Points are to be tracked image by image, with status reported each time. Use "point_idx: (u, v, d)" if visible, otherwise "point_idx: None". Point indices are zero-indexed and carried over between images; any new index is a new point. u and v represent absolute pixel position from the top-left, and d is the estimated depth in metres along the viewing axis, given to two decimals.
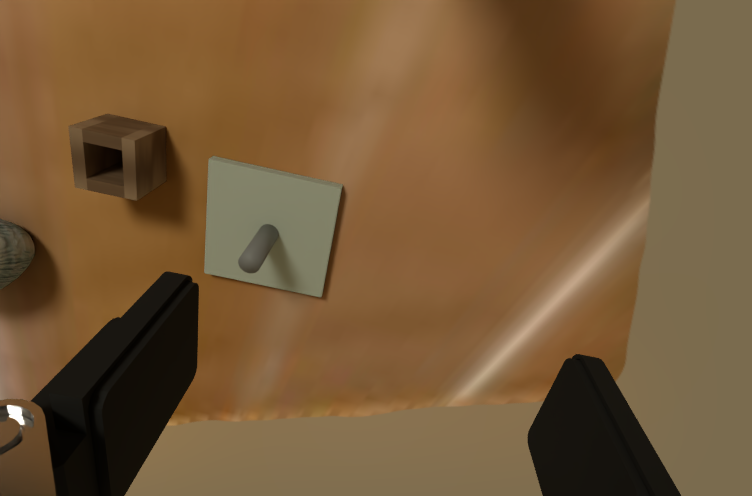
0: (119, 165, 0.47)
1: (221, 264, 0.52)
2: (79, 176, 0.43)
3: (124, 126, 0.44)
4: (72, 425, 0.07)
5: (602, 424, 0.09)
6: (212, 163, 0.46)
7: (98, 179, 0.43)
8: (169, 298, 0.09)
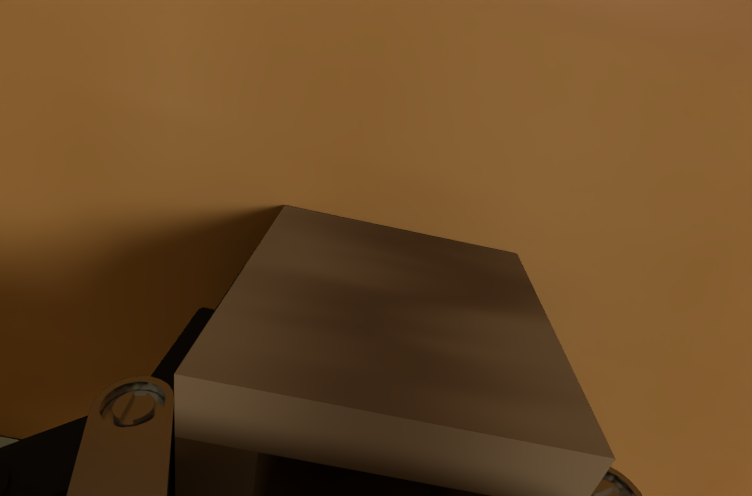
0: None
1: None
2: (265, 420, 0.06)
3: None
4: None
5: None
6: None
7: None
8: None
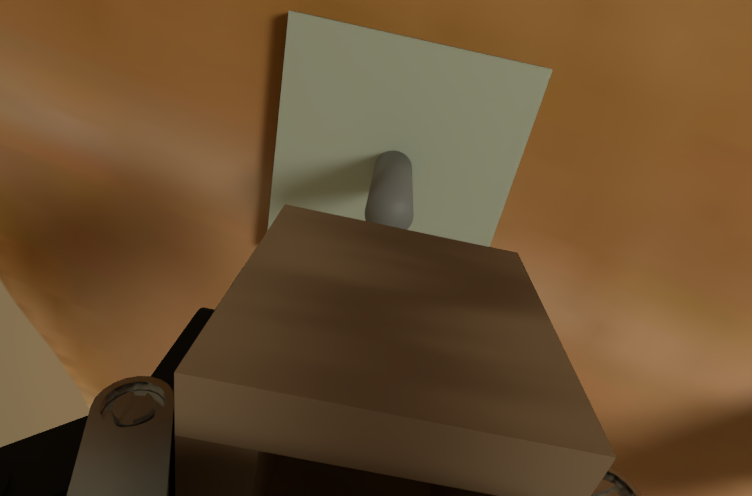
0: None
1: (316, 58, 0.24)
2: (265, 418, 0.06)
3: None
4: None
5: None
6: (542, 76, 0.24)
7: (259, 467, 0.07)
8: None
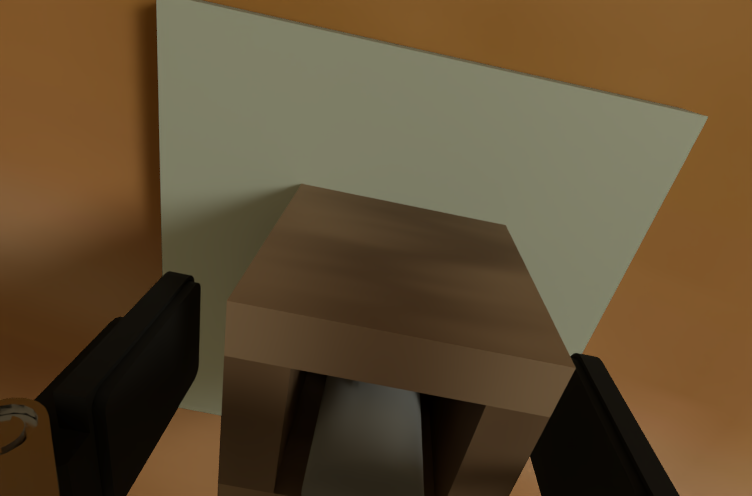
0: None
1: (222, 92, 0.12)
2: (297, 339, 0.08)
3: None
4: (76, 424, 0.07)
5: (600, 422, 0.09)
6: (685, 130, 0.11)
7: (289, 389, 0.09)
8: (171, 297, 0.09)
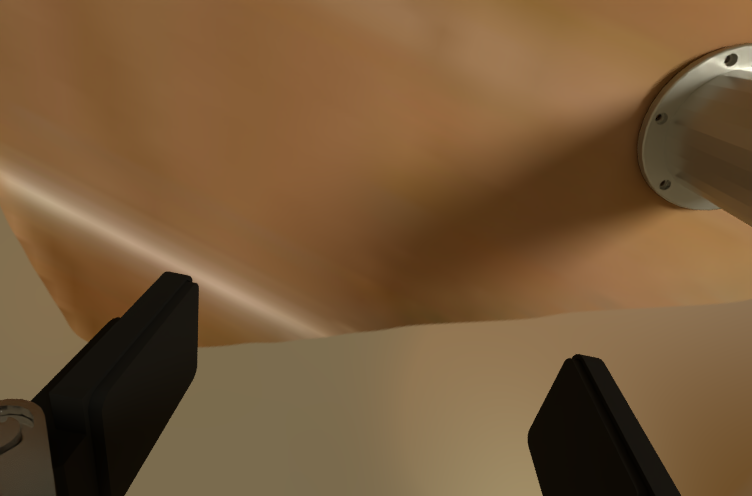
0: None
1: None
2: None
3: None
4: (72, 425, 0.07)
5: (602, 424, 0.09)
6: None
7: None
8: (169, 298, 0.09)
